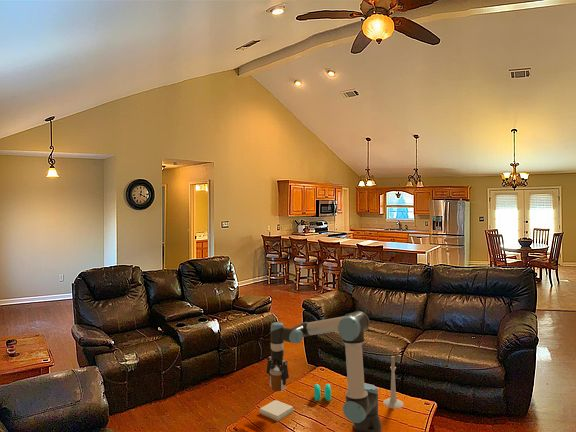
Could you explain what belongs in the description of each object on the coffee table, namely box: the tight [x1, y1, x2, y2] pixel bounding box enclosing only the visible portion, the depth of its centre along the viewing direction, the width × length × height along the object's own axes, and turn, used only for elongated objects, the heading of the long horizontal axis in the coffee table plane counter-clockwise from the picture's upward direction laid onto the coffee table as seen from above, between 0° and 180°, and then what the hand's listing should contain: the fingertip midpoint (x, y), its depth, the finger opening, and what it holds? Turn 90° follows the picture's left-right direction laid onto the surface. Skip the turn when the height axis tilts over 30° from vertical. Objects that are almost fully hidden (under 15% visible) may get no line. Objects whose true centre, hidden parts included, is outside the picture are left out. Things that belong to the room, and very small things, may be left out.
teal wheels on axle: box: [313, 383, 332, 402], centre depth 256 cm, size 10×10×10 cm
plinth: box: [259, 399, 294, 422], centre depth 241 cm, size 14×14×3 cm
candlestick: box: [382, 355, 404, 410], centre depth 249 cm, size 13×13×30 cm
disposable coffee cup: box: [269, 365, 282, 392], centre depth 240 cm, size 10×10×12 cm
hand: (277, 387), depth 240 cm, fingers closed on disposable coffee cup, 8 cm apart
